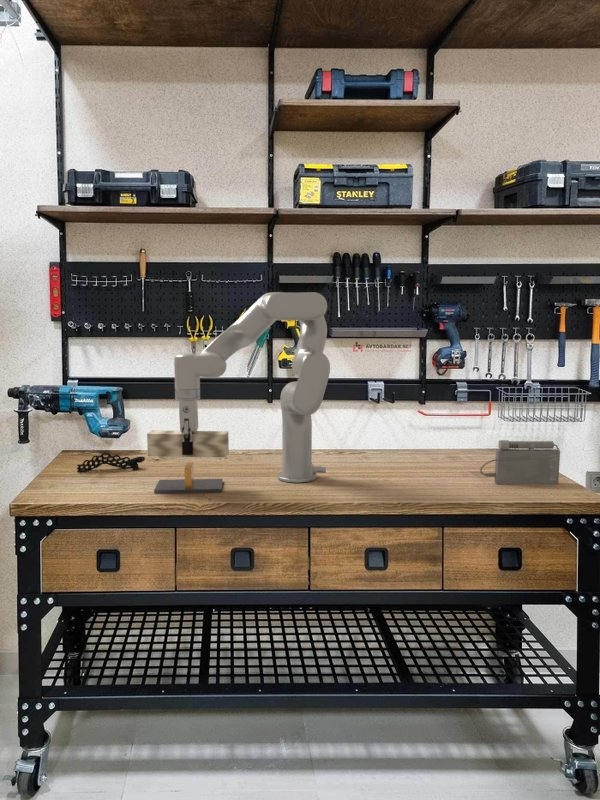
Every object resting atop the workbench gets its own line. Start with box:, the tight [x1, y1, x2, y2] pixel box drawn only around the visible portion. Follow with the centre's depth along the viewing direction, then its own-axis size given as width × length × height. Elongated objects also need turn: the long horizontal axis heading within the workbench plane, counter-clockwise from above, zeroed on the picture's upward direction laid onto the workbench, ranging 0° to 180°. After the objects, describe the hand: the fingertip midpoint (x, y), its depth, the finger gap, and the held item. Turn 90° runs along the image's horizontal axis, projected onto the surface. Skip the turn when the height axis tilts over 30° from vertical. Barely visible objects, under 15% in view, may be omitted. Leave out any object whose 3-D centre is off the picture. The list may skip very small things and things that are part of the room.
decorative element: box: [76, 452, 146, 473], centre depth 232 cm, size 22×5×6 cm, turn 104°
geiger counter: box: [479, 439, 561, 485], centre depth 215 cm, size 14×6×25 cm
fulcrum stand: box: [153, 461, 224, 494], centre depth 210 cm, size 20×12×7 cm, turn 94°
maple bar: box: [146, 429, 230, 458], centre depth 208 cm, size 24×6×7 cm, turn 86°
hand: (188, 451), depth 209 cm, fingers closed on maple bar, 5 cm apart
